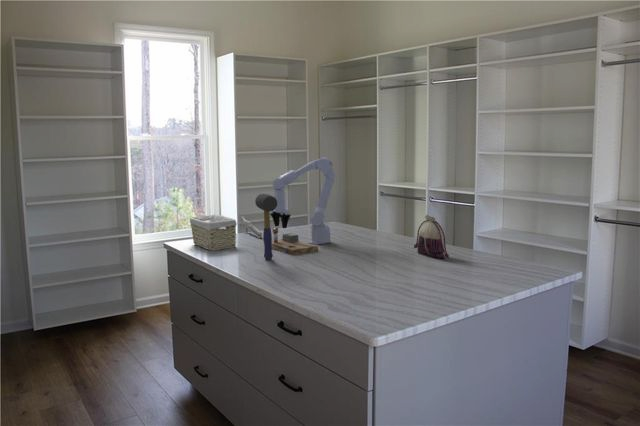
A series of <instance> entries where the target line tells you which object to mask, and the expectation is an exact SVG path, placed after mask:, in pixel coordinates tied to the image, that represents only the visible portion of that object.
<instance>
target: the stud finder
mask: <svg viewBox="0 0 640 426" xmlns="http://www.w3.org/2000/svg"><path fill="white" fill-rule="evenodd" d="M282 239H283V241H287V242H295V241H299V235H298V234H295V233H293V232H290V233H285V234H283V233H282Z"/></svg>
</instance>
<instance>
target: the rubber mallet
mask: <svg viewBox="0 0 640 426" xmlns="http://www.w3.org/2000/svg"><path fill="white" fill-rule="evenodd" d="M254 202H255V205H256V207H257V208H259V210H262V211H263V222H264V224H263V227H264V228H263V233H262V238H263V239H262V240H263V244H264V245H263V246H264V247H263V248H264V253H263V257H264V259H265V261H271V260H272V259H273V257H274V255H273V250H272V246H271V243H272V241H273V236H272V234H273V233H272V229H271V218H270V216H271V215H270V212H272V211H273V210H275V209H276V207H277V200H276V198H274V195H271V194H269V193H268V194H267V193H261V194H258V195H257V196H256V198H255V200H254Z"/></svg>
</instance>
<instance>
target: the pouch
mask: <svg viewBox="0 0 640 426" xmlns="http://www.w3.org/2000/svg"><path fill="white" fill-rule="evenodd" d="M424 217H425V220H424V221H422V223H420V224H419V227H418V229H417V236H416V243H415V244H414V245H413V249H416V250H417V251H416V252H417V253H418V254H421V255H427V256H431V257H434V258H438V259H442V260H445V259H449V258H450V257H449V256H450V255H449V253H448V251H447V246H446V237H445V233H444V230H443V228H442V226H441V225H440V223H439V222H437V220H436V219H437V217H434V216H430V215H428V214H426V215H425V216H424Z"/></svg>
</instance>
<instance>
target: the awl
mask: <svg viewBox="0 0 640 426" xmlns="http://www.w3.org/2000/svg"><path fill="white" fill-rule="evenodd" d="M271 230H272V234H273V241H274V242H278V240H279V239H278V237H279V236H278V233H279V227H272V229H271Z"/></svg>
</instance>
